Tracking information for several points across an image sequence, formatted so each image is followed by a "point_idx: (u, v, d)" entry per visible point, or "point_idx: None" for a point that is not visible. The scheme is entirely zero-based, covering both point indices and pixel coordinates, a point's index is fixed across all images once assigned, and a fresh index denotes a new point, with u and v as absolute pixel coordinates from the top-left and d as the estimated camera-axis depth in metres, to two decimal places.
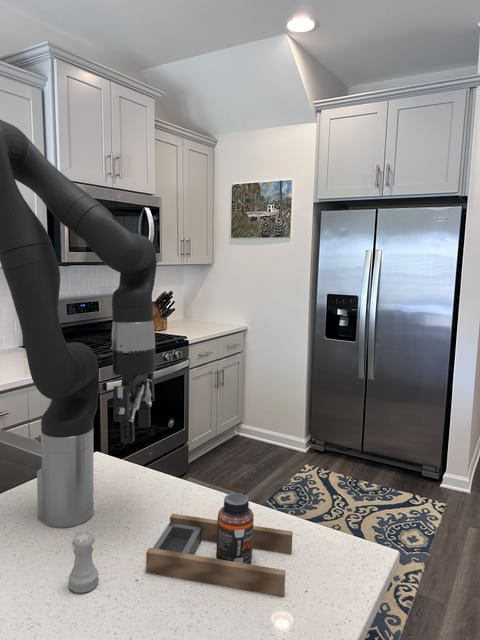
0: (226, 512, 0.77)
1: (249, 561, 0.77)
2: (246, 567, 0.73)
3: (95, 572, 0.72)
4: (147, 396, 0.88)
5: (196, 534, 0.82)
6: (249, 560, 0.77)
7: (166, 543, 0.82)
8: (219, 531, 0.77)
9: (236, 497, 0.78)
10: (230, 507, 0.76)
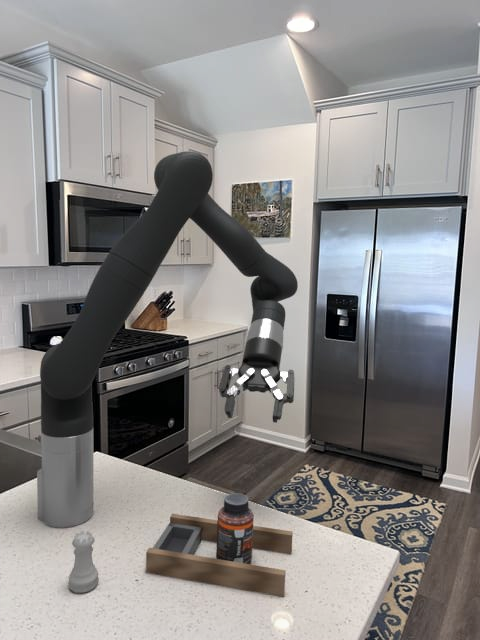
0: (226, 512, 0.77)
1: (249, 561, 0.77)
2: (246, 567, 0.73)
3: (95, 572, 0.72)
4: (245, 390, 0.93)
5: (196, 534, 0.82)
6: (249, 560, 0.77)
7: (166, 543, 0.82)
8: (219, 531, 0.77)
9: (236, 497, 0.78)
10: (230, 507, 0.76)
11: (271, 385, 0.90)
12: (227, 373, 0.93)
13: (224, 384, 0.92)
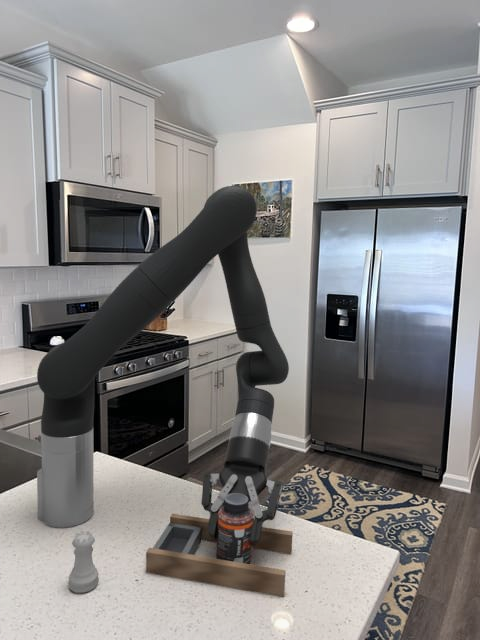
0: (226, 512, 0.77)
1: (249, 561, 0.77)
2: (246, 567, 0.73)
3: (95, 572, 0.72)
4: None
5: (196, 534, 0.82)
6: (249, 560, 0.77)
7: (166, 543, 0.82)
8: (219, 531, 0.77)
9: (236, 497, 0.78)
10: (230, 507, 0.76)
11: (252, 498, 0.79)
12: (208, 482, 0.82)
13: (207, 497, 0.80)
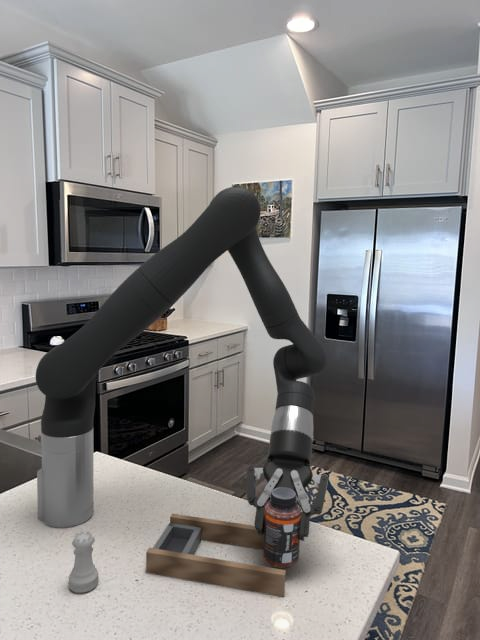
0: (274, 506, 0.75)
1: (297, 556, 0.76)
2: (246, 567, 0.73)
3: (95, 572, 0.72)
4: None
5: (196, 534, 0.82)
6: (297, 555, 0.76)
7: (166, 543, 0.82)
8: (267, 526, 0.75)
9: (283, 491, 0.77)
10: (279, 501, 0.75)
11: (299, 493, 0.77)
12: (252, 476, 0.81)
13: (252, 491, 0.79)
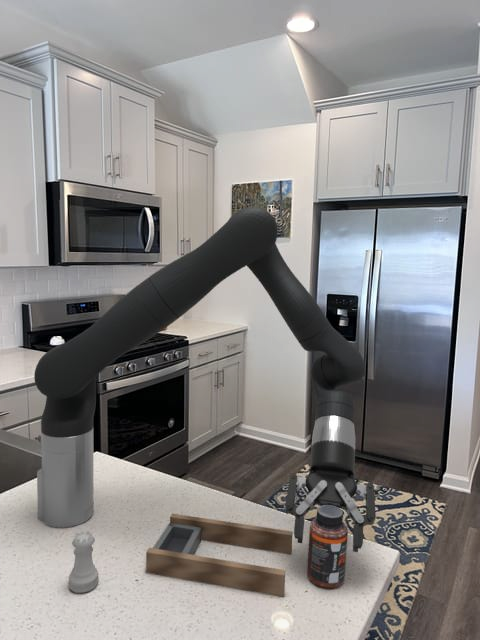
0: (321, 524, 0.74)
1: (343, 576, 0.75)
2: (246, 567, 0.73)
3: (95, 572, 0.72)
4: (315, 504, 0.79)
5: (196, 534, 0.82)
6: (343, 575, 0.75)
7: (166, 543, 0.82)
8: (313, 545, 0.74)
9: (329, 509, 0.75)
10: (326, 520, 0.73)
11: (349, 504, 0.76)
12: (294, 484, 0.79)
13: (291, 499, 0.78)
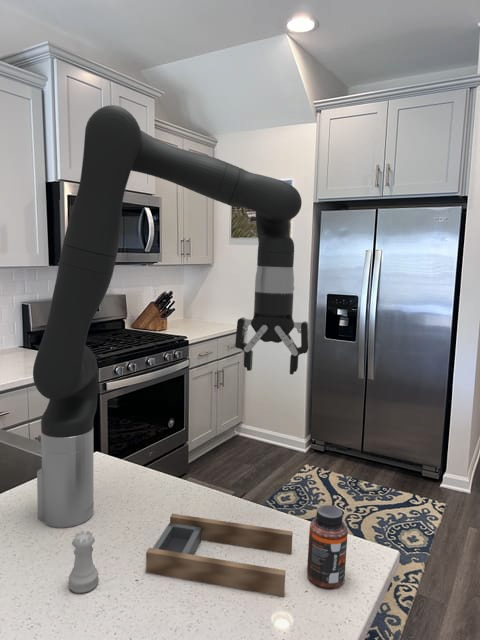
0: (320, 525, 0.74)
1: (343, 576, 0.75)
2: (246, 567, 0.73)
3: (95, 572, 0.72)
4: None
5: (196, 534, 0.82)
6: (343, 575, 0.75)
7: (166, 543, 0.82)
8: (313, 545, 0.74)
9: (329, 509, 0.75)
10: (326, 520, 0.73)
11: (286, 343, 0.92)
12: (241, 328, 0.94)
13: (240, 341, 0.94)
